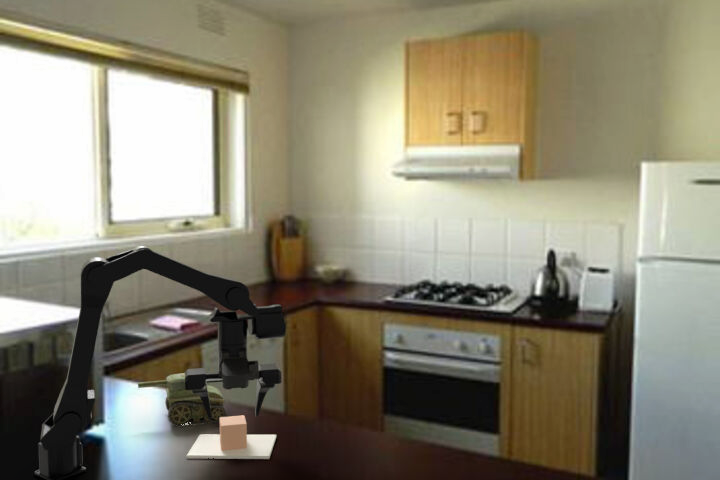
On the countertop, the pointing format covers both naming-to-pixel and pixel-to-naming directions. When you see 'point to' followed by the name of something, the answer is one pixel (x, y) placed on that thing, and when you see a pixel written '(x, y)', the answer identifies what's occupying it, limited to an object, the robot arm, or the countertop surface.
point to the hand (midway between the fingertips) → (233, 418)
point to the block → (233, 432)
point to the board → (211, 449)
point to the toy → (188, 401)
